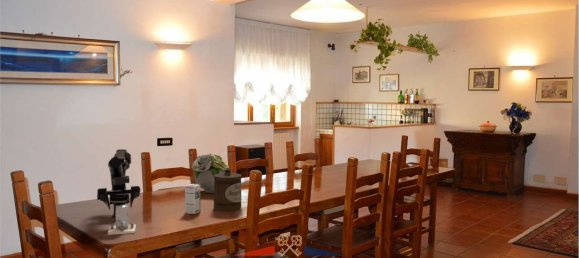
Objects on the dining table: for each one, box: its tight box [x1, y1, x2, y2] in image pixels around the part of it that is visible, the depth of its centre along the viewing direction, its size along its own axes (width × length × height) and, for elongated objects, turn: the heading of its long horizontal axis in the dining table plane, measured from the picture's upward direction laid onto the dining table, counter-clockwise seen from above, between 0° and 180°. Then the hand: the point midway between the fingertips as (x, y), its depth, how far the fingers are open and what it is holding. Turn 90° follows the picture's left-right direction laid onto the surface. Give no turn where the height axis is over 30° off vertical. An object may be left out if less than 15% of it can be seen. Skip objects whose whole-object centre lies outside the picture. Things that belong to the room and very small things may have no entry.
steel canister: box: [115, 204, 129, 230], centre depth 209 cm, size 5×5×10 cm
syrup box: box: [184, 183, 202, 215], centre depth 244 cm, size 6×6×14 cm
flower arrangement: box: [191, 153, 230, 194], centre depth 299 cm, size 25×25×24 cm
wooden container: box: [213, 167, 242, 212], centre depth 255 cm, size 15×15×22 cm
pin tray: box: [107, 222, 137, 236], centre depth 209 cm, size 11×11×3 cm
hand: (120, 208), depth 215 cm, fingers open, 9 cm apart
